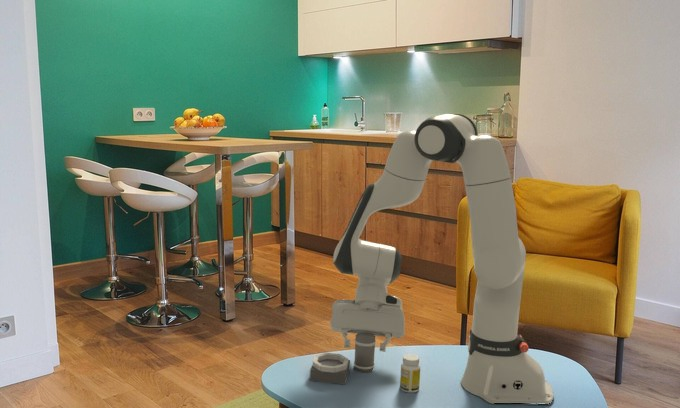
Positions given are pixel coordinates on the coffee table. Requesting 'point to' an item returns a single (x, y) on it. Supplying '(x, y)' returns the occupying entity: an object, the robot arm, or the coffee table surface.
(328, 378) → the octagonal ring tray
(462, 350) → the coffee table surface
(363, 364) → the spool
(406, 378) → the supplement bottle
